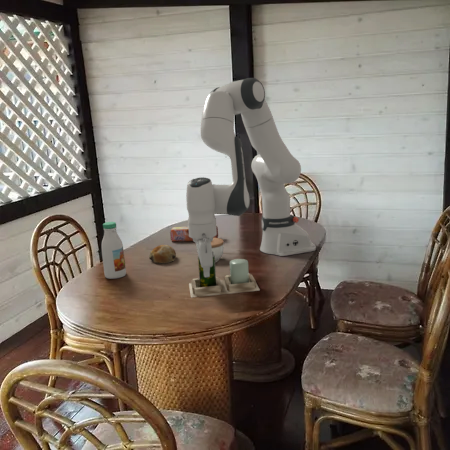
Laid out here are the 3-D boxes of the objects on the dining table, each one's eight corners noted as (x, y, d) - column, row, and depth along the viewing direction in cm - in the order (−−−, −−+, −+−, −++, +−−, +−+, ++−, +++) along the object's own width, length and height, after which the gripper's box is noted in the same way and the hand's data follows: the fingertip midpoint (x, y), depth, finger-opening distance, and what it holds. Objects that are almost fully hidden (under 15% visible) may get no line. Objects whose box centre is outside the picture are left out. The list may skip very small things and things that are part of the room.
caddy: (253, 280, 162) (252, 271, 161) (260, 293, 151) (259, 284, 150) (189, 286, 160) (188, 277, 159) (191, 300, 148) (190, 291, 147)
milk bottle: (107, 281, 169) (101, 227, 164) (102, 274, 176) (96, 222, 171) (128, 276, 172) (122, 223, 167) (123, 270, 179) (117, 219, 174)
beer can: (207, 283, 158) (205, 249, 155) (219, 286, 155) (217, 252, 152) (196, 289, 154) (194, 254, 151) (209, 292, 151) (207, 256, 148)
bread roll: (167, 273, 184) (174, 255, 182) (144, 262, 185) (150, 244, 183) (175, 264, 194) (181, 247, 191) (152, 254, 194) (159, 237, 192)
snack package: (170, 243, 212) (169, 228, 210) (173, 238, 218) (172, 224, 216) (217, 242, 209) (216, 227, 207) (219, 238, 215) (218, 223, 213)
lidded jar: (229, 261, 183) (228, 237, 181) (205, 267, 178) (203, 243, 175) (216, 254, 192) (214, 232, 190) (192, 259, 187) (190, 237, 184)
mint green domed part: (247, 280, 159) (246, 258, 157) (250, 287, 153) (249, 264, 151) (229, 282, 158) (228, 259, 156) (232, 289, 152) (231, 265, 150)
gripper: (216, 238, 140) (218, 282, 143) (209, 221, 159) (211, 260, 163) (194, 240, 139) (198, 284, 142) (190, 223, 159) (193, 262, 162)
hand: (205, 271), depth 153 cm, fingers open, 8 cm apart
